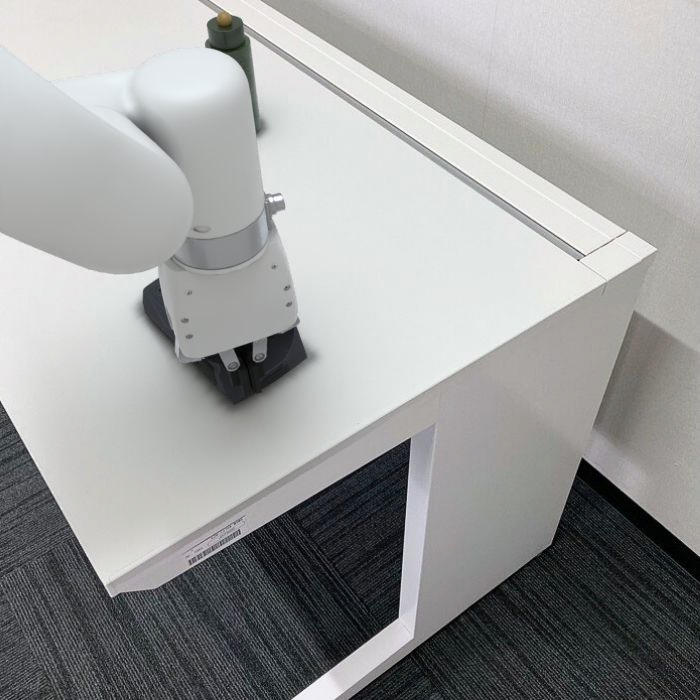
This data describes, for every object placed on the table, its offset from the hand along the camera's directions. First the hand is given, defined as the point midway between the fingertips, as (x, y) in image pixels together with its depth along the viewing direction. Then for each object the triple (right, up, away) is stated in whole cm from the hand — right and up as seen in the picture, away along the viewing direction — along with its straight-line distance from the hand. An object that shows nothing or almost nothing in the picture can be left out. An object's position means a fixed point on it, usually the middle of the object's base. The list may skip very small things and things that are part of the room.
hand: (248, 383), depth 69 cm
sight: (-4, +5, +9) cm, 11 cm away
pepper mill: (-6, +33, +34) cm, 48 cm away
